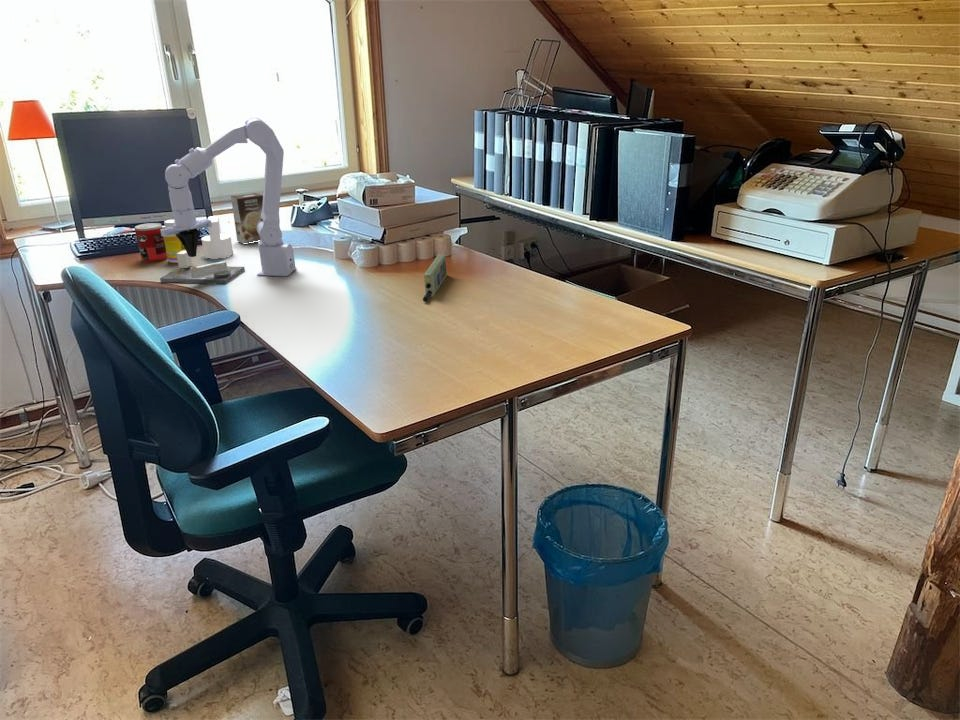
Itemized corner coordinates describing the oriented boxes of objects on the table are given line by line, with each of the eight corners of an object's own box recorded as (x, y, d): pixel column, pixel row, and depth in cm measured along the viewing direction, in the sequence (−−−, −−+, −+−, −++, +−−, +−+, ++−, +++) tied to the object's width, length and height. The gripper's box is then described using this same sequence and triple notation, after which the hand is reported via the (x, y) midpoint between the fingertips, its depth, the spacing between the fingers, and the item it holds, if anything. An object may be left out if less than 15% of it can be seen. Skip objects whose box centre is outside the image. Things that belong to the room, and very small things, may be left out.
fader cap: (192, 264, 214) (189, 250, 212) (186, 268, 210) (184, 253, 209) (185, 264, 214) (182, 250, 212) (179, 267, 211) (176, 253, 209)
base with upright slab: (205, 253, 232) (198, 217, 227) (233, 250, 234) (227, 215, 229) (204, 260, 224) (197, 223, 219) (233, 257, 226) (227, 221, 221)
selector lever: (226, 270, 208) (224, 258, 206) (233, 273, 204) (231, 262, 203) (190, 277, 201) (187, 266, 200) (196, 281, 198) (194, 269, 196)
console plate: (244, 270, 213) (244, 266, 212) (225, 283, 201) (224, 279, 200) (183, 269, 215) (182, 265, 214) (160, 282, 203) (159, 278, 203)
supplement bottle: (185, 263, 221) (177, 223, 215) (165, 263, 221) (156, 223, 215) (194, 257, 227) (186, 218, 221) (173, 257, 227) (166, 218, 222)
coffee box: (244, 245, 240) (236, 198, 233) (237, 241, 244) (229, 195, 238) (269, 240, 245) (262, 194, 238) (261, 237, 250) (255, 192, 243)
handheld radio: (448, 275, 206) (431, 304, 183) (437, 276, 207) (419, 304, 184) (447, 254, 203) (429, 280, 181) (436, 254, 204) (417, 280, 181)
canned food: (141, 257, 227) (134, 224, 223) (167, 254, 230) (161, 221, 226) (141, 263, 221) (134, 229, 216) (169, 260, 224) (162, 226, 219)
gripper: (166, 215, 187) (176, 264, 193) (214, 205, 197) (222, 252, 203) (152, 212, 191) (163, 260, 197) (200, 203, 201) (208, 248, 207)
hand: (192, 256), depth 200 cm, fingers closed
